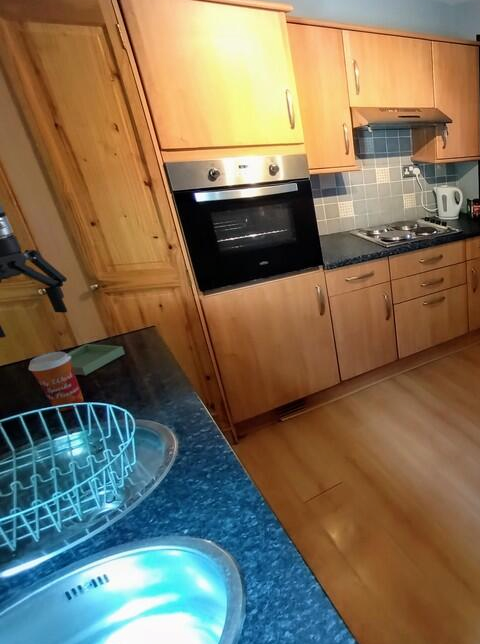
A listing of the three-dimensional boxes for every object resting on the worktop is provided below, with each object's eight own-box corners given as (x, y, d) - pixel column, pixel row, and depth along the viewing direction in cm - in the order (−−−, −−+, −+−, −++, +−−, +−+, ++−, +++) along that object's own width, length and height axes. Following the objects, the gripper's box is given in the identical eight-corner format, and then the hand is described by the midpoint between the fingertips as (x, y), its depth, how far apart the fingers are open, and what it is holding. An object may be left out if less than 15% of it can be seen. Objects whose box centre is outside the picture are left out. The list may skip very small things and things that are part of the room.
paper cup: (48, 417, 113) (24, 369, 107) (50, 403, 118) (28, 357, 112) (89, 405, 117) (68, 359, 111) (90, 392, 123) (70, 347, 117)
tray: (47, 372, 132) (43, 364, 131) (89, 350, 143) (86, 343, 142) (85, 375, 130) (82, 367, 129) (125, 353, 142) (122, 346, 141)
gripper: (-69, 254, 88) (-17, 350, 96) (63, 224, 110) (96, 303, 119) (-101, 253, 89) (-47, 347, 97) (37, 223, 111) (71, 302, 120)
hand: (32, 323), depth 108 cm, fingers open, 13 cm apart
